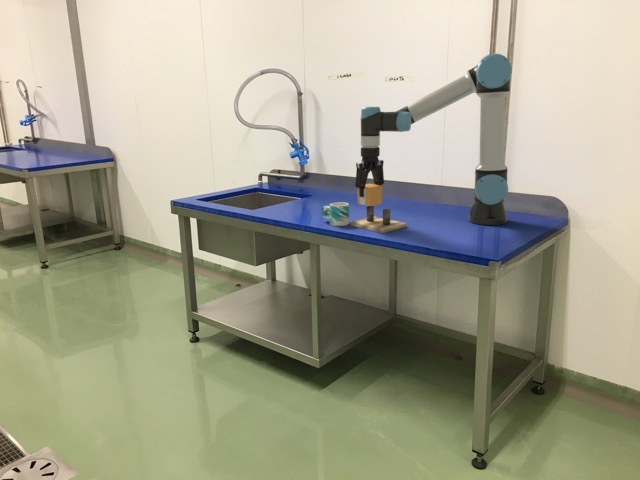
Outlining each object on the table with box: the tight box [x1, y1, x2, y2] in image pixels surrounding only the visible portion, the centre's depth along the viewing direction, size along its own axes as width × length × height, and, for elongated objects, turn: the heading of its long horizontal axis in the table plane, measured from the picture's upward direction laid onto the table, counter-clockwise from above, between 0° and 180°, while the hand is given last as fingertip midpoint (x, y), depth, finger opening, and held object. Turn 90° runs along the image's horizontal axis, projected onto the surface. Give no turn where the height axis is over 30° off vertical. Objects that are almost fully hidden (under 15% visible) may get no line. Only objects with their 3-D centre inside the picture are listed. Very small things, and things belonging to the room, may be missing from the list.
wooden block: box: [357, 183, 383, 207], centre depth 218 cm, size 7×7×8 cm
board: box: [349, 205, 408, 234], centre depth 216 cm, size 18×14×8 cm
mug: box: [321, 201, 350, 227], centre depth 224 cm, size 8×12×8 cm
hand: (369, 203), depth 218 cm, fingers closed on wooden block, 7 cm apart
